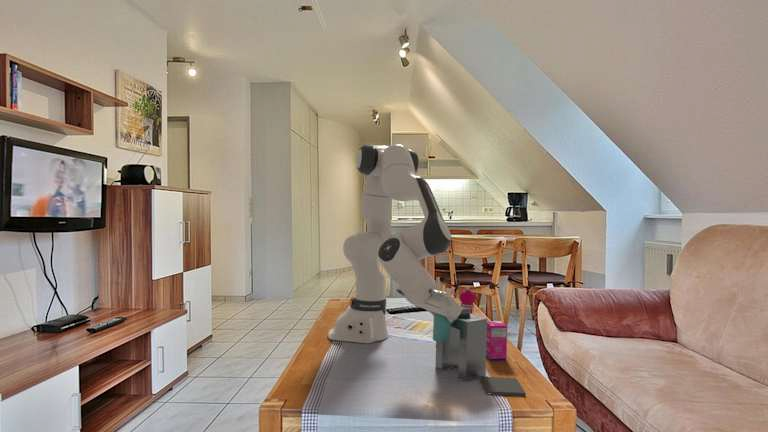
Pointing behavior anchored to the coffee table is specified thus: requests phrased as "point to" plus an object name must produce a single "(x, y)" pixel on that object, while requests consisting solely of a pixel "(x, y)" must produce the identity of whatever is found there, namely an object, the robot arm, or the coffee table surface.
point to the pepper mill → (467, 298)
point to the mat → (503, 386)
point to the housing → (465, 346)
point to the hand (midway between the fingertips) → (444, 317)
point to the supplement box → (496, 340)
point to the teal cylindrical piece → (441, 328)
